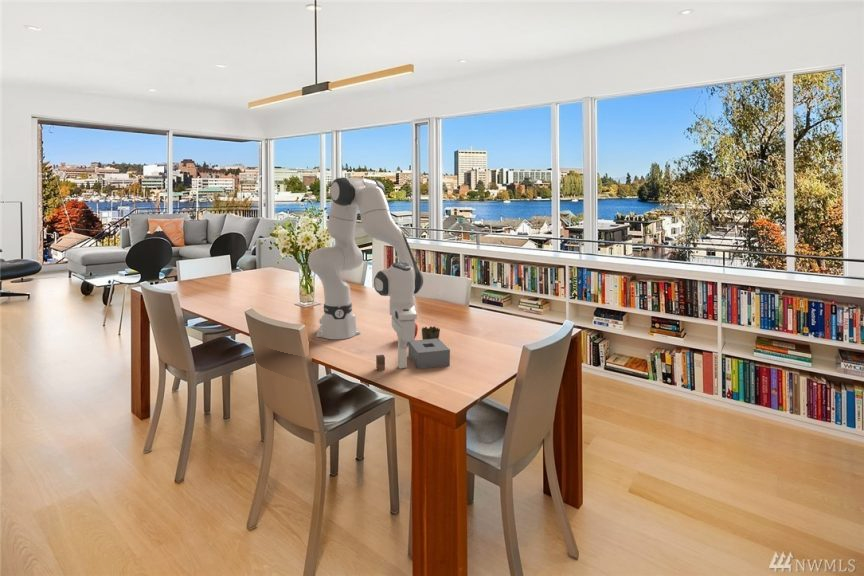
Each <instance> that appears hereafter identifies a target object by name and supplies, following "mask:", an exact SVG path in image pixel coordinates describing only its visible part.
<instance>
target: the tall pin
mask: <svg viewBox="0 0 864 576" xmlns="http://www.w3.org/2000/svg"><path fill="white" fill-rule="evenodd" d="M407 349H408V347H407V348H406V349H402V348H401V338H400V337H399V335H398V337H397V366H398V368H399V369H406V368H408V365H407V362H408V359H407V358H408V357H407V356H408V350H407Z"/></svg>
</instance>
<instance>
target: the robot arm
mask: <svg viewBox="0 0 864 576" xmlns="http://www.w3.org/2000/svg"><path fill="white" fill-rule="evenodd" d="M329 194H330V198H331V200H332V201H331V205H330V209H329V216H328V221H327V222H328V223H327V229H326V230H327V233H328V235H329V236H330V237H331V238H333V239H334V246H329V247H328V246H327V247H319V248H317V249H314V250H313V251H311V252H310V253H309V255H308V257H307V264H308V267H309V269H310V271H311V272H312V273H314V274H316V275H317V277H318V278H319V279H320V281H321V284H322V287H323V297H324V298H323V299H324V304H323V315H322V316H321V318H319V325H320V326H319V329H318V331H317V333H316V337H317V338H324V339H328V340H346V339H349V338H352V337H353V338H354V336H356V335H361V330H359V329H358V328H357V319H356V315H355V314H354V313H353V305H352V301H351V286H350V284H349V283H348V282H347V281H345V280H343V279H342V276H341V272H348V271H352V270H354V269H358V268H359V267H361V265H362V264H363V262H364V261H363V260H364V255H363V252H362V250H361V248H359V246H358V245H357V243H356V240H355V231H356V225H357V218H358V212H359V215H360V220H361V225H362V228H363V230H364V232H365V233H366V234H367V235H368V237H371V238H373V239H375V240H378V241H381V242H384V243H386V244H388V245H390V246H391V247H392V248H393V249H394V250H395V251H396V254H397V257H398V260H399V261H398V262H394V263H392V264H391V265H390V267H388V268H386V269H382V270H379V271H377V273H376V275H375V276H374V279H373V287H374V290H375V292H377V293H378V294H379V295H380V296H383V297H389V315H390V316H391V327H392V329H393V330H394V332H396V337H397V338H398V335H399V337H400V338H401V348H402V349H406V348H407V349H408V343H409V342H413V341H414V340H415V339H414V337H415V323H416V320H417V318H418V314H417V312H416V307H415V306H416V305H415V304H416V302H415V301H416V300H415V296H414V295H416V294H417V293H419V291H420V290H421V288H422V287H423V285H424V275H422V272H421V270H420V269H419V266H418V265H417V263H416V260H415V257H414V255H413V252H412V250H411V248H410V245H409V242H408V240H407V237H406V235H405V232H404V231H403V229H402V228H401V227H399V225H398V224H396V222H395V220H394V219H393V217H392V215H391V211H390V207H389V203H388V200H387V198H386V189H385V186H384V184H383V183H382V182H381V181H380V180H377V179H373V178H372V179H369V178H365V177H343V176H342V177H337V178H335V179H334V180H333V181H332V183H331V184H330V188H329ZM358 210H359V211H358ZM415 338H416V337H415Z"/></svg>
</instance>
